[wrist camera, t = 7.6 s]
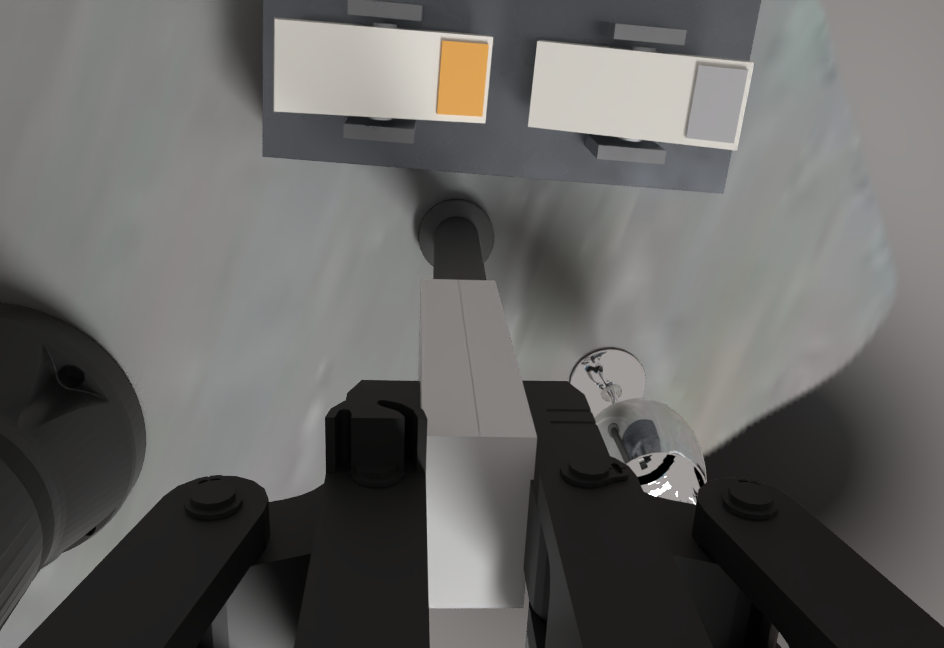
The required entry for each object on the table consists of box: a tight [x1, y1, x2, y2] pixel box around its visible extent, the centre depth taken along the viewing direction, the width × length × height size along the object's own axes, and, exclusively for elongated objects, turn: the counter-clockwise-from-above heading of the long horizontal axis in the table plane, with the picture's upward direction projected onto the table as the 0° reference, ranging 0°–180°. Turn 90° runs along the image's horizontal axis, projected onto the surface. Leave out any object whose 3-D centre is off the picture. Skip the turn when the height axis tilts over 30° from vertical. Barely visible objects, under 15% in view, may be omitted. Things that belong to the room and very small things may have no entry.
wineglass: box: [570, 349, 707, 504], centre depth 45 cm, size 6×6×12 cm
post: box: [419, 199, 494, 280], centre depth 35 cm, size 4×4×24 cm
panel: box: [263, 0, 761, 194], centre depth 40 cm, size 22×9×8 cm, turn 85°
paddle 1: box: [273, 17, 493, 123], centre depth 37 cm, size 9×4×2 cm, turn 85°
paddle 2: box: [528, 40, 754, 151], centre depth 37 cm, size 9×4×2 cm, turn 85°
